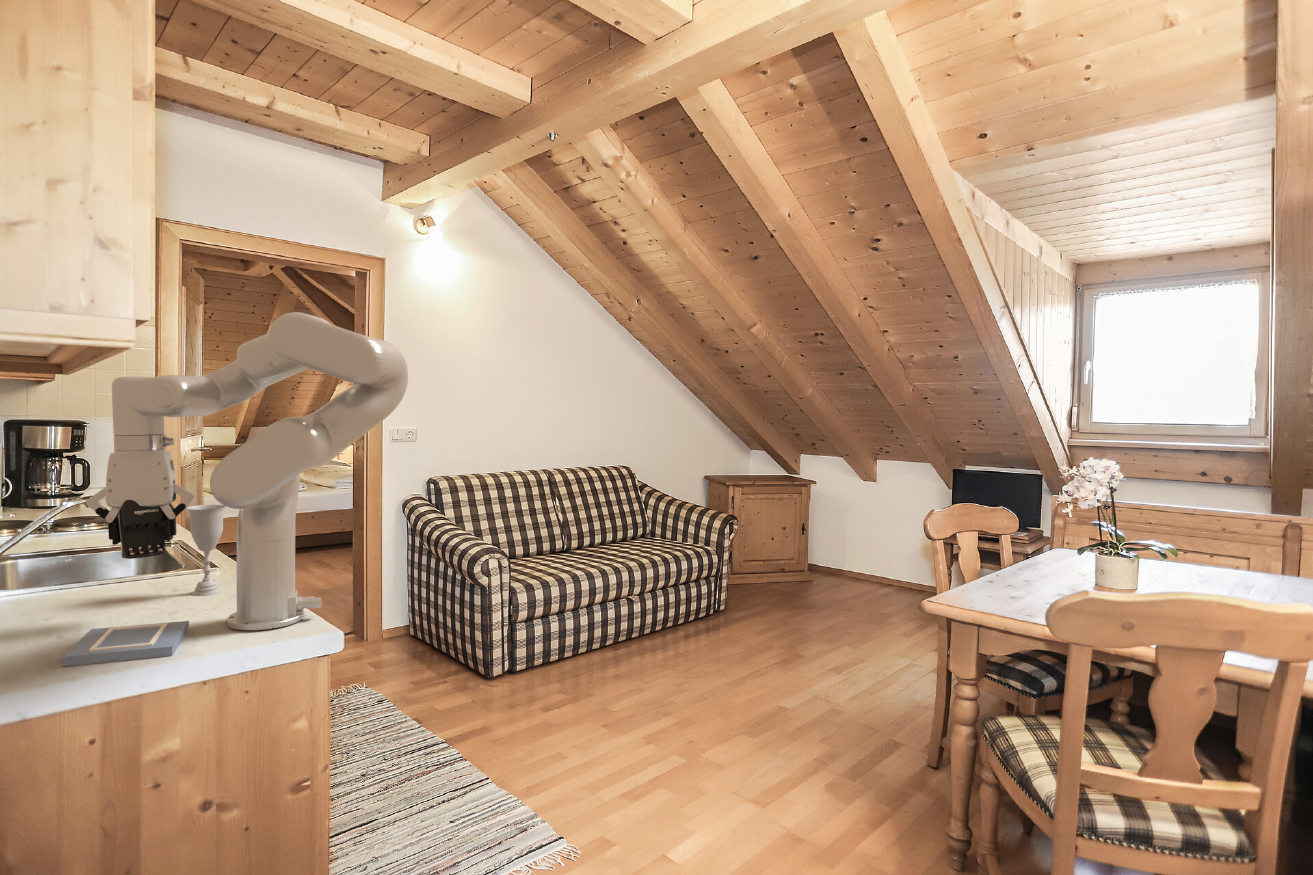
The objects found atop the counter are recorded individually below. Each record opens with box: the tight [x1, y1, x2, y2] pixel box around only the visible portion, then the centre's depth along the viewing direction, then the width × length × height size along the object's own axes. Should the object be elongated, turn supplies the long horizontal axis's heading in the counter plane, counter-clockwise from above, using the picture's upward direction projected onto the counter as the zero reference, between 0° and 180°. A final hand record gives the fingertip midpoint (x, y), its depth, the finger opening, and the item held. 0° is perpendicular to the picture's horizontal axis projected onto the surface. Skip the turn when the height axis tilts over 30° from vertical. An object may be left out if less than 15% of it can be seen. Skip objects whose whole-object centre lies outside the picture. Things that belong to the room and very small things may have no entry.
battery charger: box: [118, 500, 167, 560], centre depth 131 cm, size 7×4×11 cm, turn 139°
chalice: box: [186, 504, 226, 597], centre depth 150 cm, size 7×7×18 cm
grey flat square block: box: [61, 620, 190, 667], centre depth 117 cm, size 14×14×2 cm
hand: (143, 540), depth 131 cm, fingers closed on battery charger, 7 cm apart
